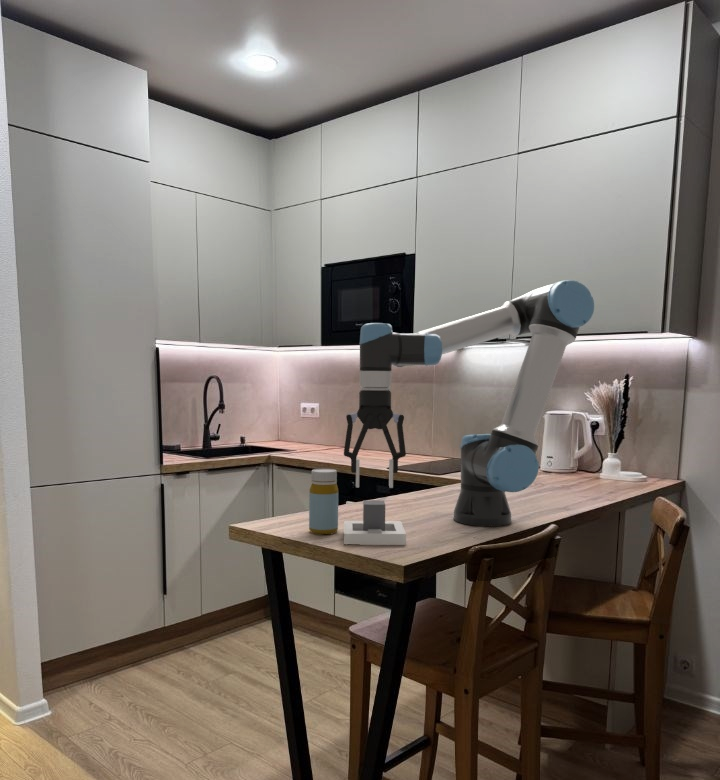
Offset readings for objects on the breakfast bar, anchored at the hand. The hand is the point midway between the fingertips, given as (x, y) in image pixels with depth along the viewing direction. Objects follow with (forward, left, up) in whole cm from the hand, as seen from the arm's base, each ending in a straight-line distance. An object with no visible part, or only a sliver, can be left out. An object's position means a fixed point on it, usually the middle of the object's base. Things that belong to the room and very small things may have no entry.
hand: (374, 486), depth 146 cm
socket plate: (0, 0, -12) cm, 12 cm away
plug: (0, 0, -12) cm, 12 cm away
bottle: (+12, -6, -12) cm, 18 cm away
